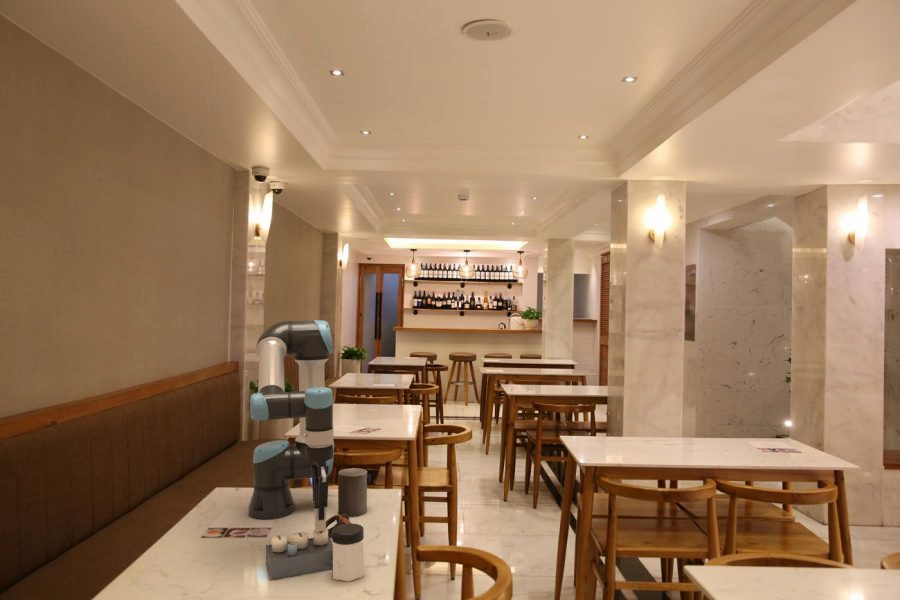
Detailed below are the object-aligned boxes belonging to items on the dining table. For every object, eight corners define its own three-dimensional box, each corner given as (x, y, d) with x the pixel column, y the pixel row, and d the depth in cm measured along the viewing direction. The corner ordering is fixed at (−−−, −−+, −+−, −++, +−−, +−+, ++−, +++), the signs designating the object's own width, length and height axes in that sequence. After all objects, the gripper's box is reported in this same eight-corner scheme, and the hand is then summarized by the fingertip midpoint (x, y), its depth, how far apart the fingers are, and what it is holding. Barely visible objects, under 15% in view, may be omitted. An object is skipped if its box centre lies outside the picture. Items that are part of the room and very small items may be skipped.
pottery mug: (355, 547, 184) (341, 525, 182) (328, 559, 185) (313, 538, 183) (362, 522, 195) (349, 501, 193) (337, 534, 197) (323, 513, 195)
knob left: (271, 566, 169) (270, 536, 169) (286, 563, 171) (285, 533, 171) (273, 572, 166) (272, 541, 166) (288, 569, 167) (288, 538, 167)
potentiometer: (287, 553, 166) (286, 536, 166) (296, 551, 167) (296, 534, 167) (288, 556, 164) (288, 539, 164) (297, 555, 165) (297, 537, 165)
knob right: (312, 559, 174) (311, 529, 174) (326, 556, 175) (326, 527, 175) (315, 564, 170) (314, 534, 170) (329, 562, 172) (329, 532, 171)
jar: (325, 578, 162) (324, 532, 162) (341, 565, 170) (341, 521, 170) (355, 583, 159) (354, 536, 159) (371, 570, 167) (370, 525, 166)
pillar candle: (338, 518, 206) (339, 472, 206) (337, 508, 215) (337, 464, 215) (368, 516, 208) (368, 471, 208) (365, 506, 218) (365, 463, 218)
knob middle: (291, 562, 171) (291, 533, 171) (306, 560, 173) (306, 530, 173) (294, 568, 168) (294, 538, 168) (309, 565, 169) (309, 535, 169)
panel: (266, 563, 172) (265, 545, 172) (327, 552, 178) (327, 535, 178) (271, 580, 162) (271, 560, 162) (336, 568, 168) (336, 549, 168)
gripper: (301, 441, 177) (302, 524, 177) (310, 451, 165) (311, 540, 165) (327, 438, 180) (328, 520, 180) (338, 448, 168) (339, 536, 168)
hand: (320, 530), depth 172 cm, fingers closed
